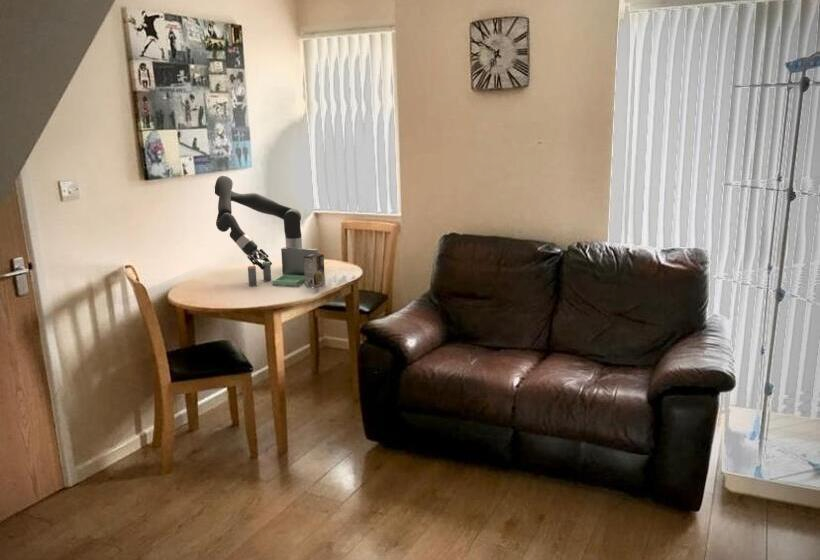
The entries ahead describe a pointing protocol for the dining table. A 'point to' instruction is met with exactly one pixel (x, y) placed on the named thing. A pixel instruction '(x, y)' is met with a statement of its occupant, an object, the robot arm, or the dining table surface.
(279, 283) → the green tray
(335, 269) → the dining table surface
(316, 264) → the coffee box
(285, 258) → the label unit
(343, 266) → the dining table surface
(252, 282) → the terracotta-capped canister
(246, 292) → the dining table surface
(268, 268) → the green-capped canister
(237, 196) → the robot arm
